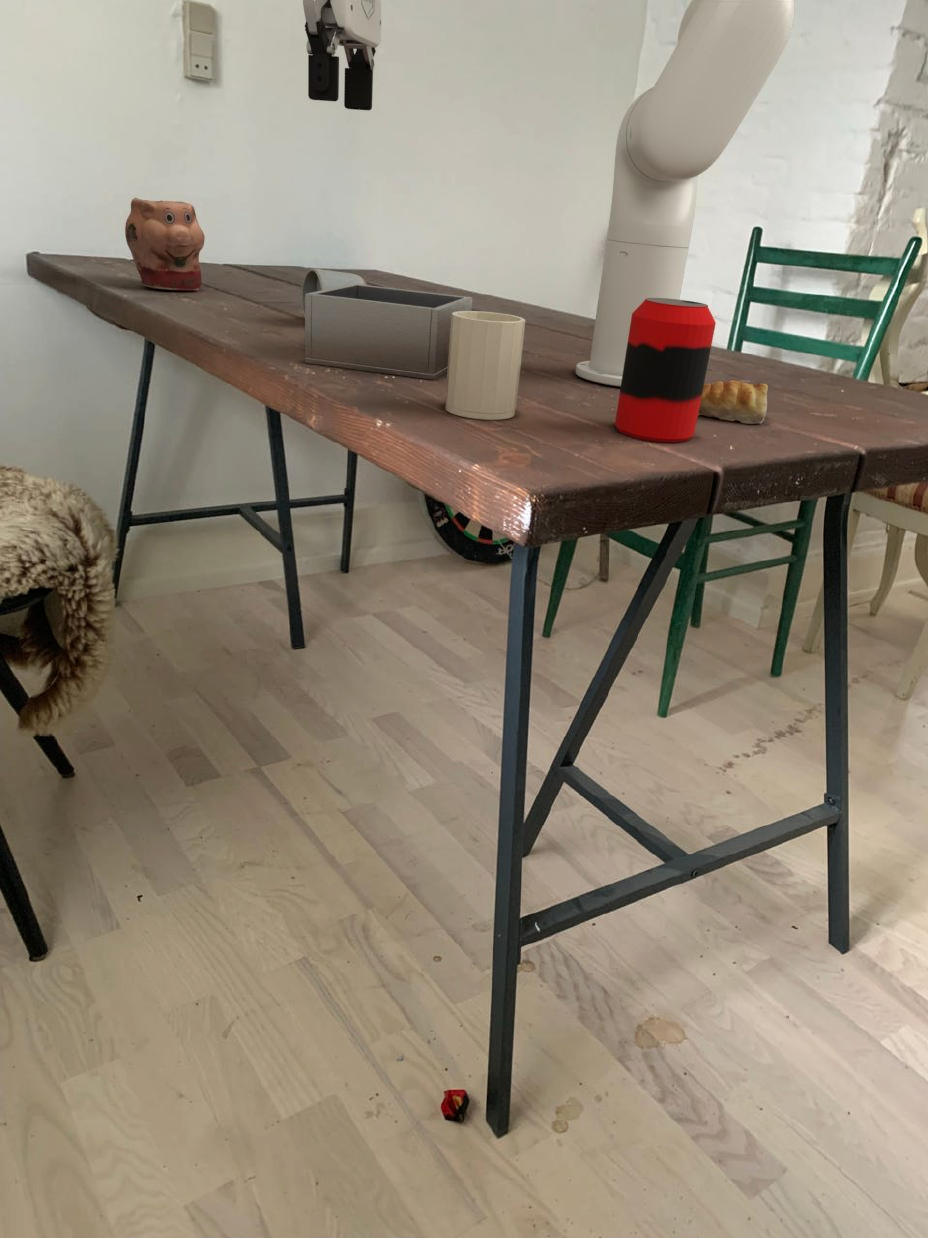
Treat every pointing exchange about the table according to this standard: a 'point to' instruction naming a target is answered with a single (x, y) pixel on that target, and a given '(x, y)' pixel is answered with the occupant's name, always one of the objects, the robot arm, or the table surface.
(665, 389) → the soda can
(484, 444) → the table surface
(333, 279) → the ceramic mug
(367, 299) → the grey open box
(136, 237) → the decorative planter
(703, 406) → the pastry
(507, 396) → the cup
